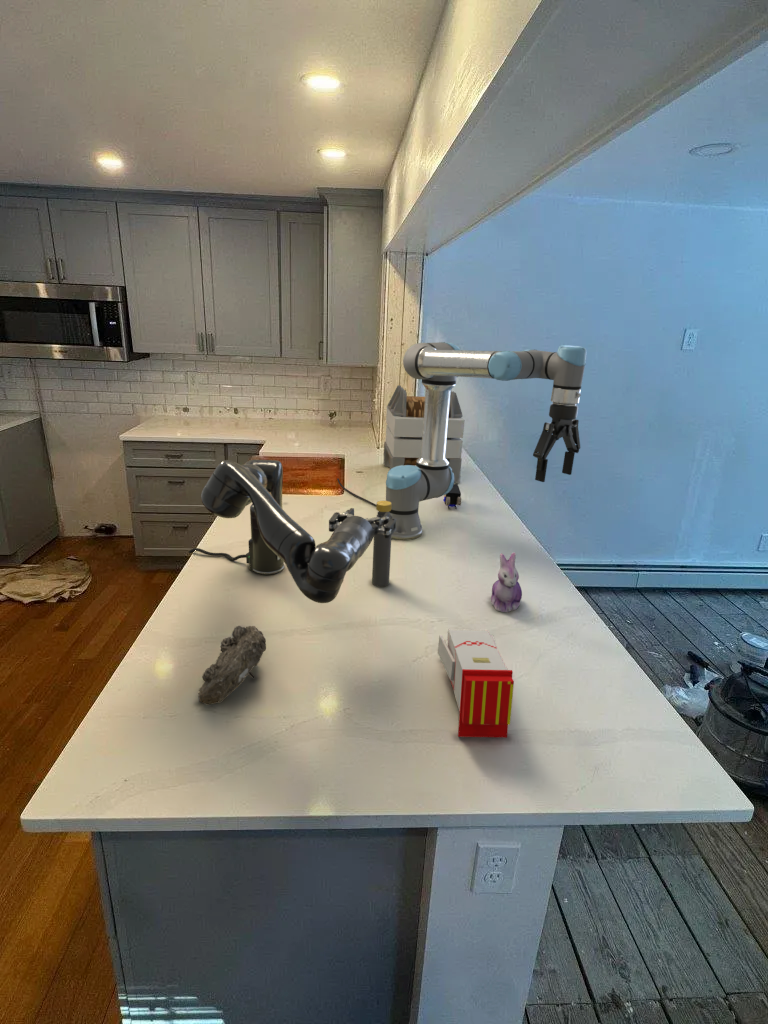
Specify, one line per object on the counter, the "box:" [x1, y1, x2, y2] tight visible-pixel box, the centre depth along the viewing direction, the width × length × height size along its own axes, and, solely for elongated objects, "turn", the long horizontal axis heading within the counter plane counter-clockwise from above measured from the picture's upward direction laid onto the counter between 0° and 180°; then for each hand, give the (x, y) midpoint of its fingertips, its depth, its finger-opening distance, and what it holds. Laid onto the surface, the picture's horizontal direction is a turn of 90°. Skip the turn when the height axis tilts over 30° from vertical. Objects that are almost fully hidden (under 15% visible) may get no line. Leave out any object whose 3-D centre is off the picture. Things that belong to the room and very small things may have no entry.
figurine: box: [490, 551, 523, 613], centre depth 152 cm, size 9×10×15 cm
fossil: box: [197, 625, 267, 705], centre depth 118 cm, size 22×10×15 cm
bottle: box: [371, 511, 392, 588], centre depth 160 cm, size 5×5×24 cm
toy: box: [437, 628, 515, 738], centre depth 117 cm, size 12×13×30 cm
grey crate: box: [383, 384, 465, 484], centre depth 268 cm, size 34×33×41 cm
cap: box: [375, 500, 392, 512], centre depth 156 cm, size 4×4×2 cm
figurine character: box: [442, 483, 462, 510], centre depth 230 cm, size 7×8×15 cm
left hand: (370, 513), depth 132 cm, fingers open, 8 cm apart
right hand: (553, 477), depth 165 cm, fingers open, 13 cm apart
